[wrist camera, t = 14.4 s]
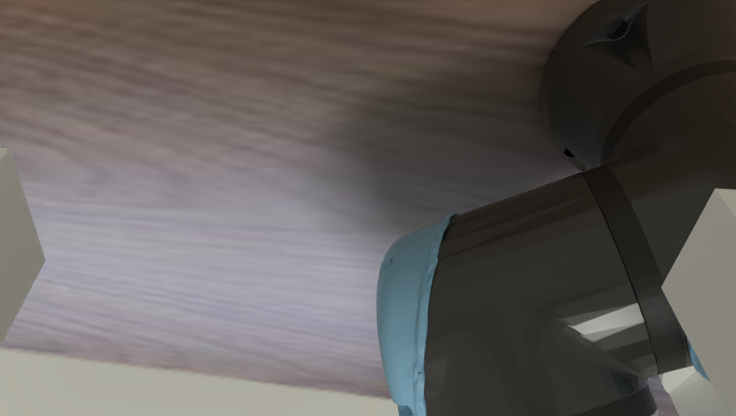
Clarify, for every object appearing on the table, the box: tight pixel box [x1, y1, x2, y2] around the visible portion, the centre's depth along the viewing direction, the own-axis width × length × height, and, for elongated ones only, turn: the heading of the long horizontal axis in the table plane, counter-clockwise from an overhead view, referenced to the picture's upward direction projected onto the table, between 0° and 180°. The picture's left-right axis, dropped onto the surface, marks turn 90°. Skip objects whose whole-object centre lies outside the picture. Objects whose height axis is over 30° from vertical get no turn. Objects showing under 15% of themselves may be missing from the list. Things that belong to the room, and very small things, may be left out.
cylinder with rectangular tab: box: [658, 366, 728, 416], centre depth 59 cm, size 9×9×12 cm
